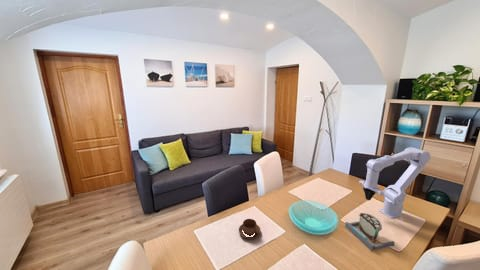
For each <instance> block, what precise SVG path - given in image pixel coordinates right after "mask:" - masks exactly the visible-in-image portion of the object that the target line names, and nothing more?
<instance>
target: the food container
mask: <svg viewBox="0 0 480 270" xmlns="http://www.w3.org/2000/svg"><path fill="white" fill-rule="evenodd" d="M358 216H359V221H360V222H359V226H358V231H360V232H361V233H362V234H363V235H364V236H365V237H366V238H367V239H368V240H369V241H370V242H371V243H373V244H374V243H375V242H376V240H377V238H378V235H379V232H381V231H382V229H383V228H382V227H383V226H382V222H381V221H380V219H379V218H377V217H376V216H374V215H371V214H369V213H366V212H365V213H364V212H360V213H359V215H358Z"/></svg>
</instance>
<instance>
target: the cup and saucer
mask: <svg viewBox="0 0 480 270" xmlns="http://www.w3.org/2000/svg"><path fill="white" fill-rule="evenodd" d="M242 230H243V231H244V233H245V234H247V235H249V236H251V235H253V234H254V233H255V235H254V236H253V237H246V236H245V235H244V234H243V232H242ZM238 233H239V235H240V236H241V237H242V238H243V239H248V240H254V239H256V238H258V237H259V236H260V235H261V227H260V226H259V225H258V224H257V221H256V220H255V219H253V218H247V219H245V220H243V222H242V223H241V225H240V226H239V227H238Z"/></svg>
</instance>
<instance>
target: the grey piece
mask: <svg viewBox="0 0 480 270" xmlns="http://www.w3.org/2000/svg"><path fill="white" fill-rule="evenodd" d="M359 222H360V220H358V221H353V222H349V221H346V222H345V224H344V225H345V226H344V228H346V229H347V230H348V231H349V232H350V233H351V234H352V235H353V236H355V238H356V239H357V240H359V241H360V243H361V244H363V245H364V246H365V247H366V248H367V249H368V250H369V251H370V252H373V251H378V250H382V249H386V248H389V247H394V246H395V241H394V240H391V241H387V242H382V243H378V244H374V242H373V243H372V242H371V241H370V240H369V239H368V238H367V237H366V236H365V235H364V234H363V233H362V232H361V231H360V230H359V229H357V228H356V227H359Z"/></svg>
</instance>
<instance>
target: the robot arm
mask: <svg viewBox="0 0 480 270" xmlns="http://www.w3.org/2000/svg"><path fill="white" fill-rule="evenodd" d="M406 159H408V160H409V162H410V164H409V166H408V168H407V169H406V170H405V171H404V172H403V173H402V175H401V176H400V177H399V179H398V180H397V181H396V182H395V183H394V184H390V185H388V186H387V187H386V188H384V189H383V190H381V189H380V188H379V187H377V186H378V181H379V176H380V172H382V170H383V169H385V168H387V167H389V166H393V165H394V164H395V162H398V161H402V160H406ZM431 159H432V157H431V154H430V151H429V152H428V151H427V150H423V149H420V148H416V147H415V146H408V147H407V148H405V149H404V150H403V151H400V152H398V153H395V154H393V155H384V156H382V157H378V158H376V159H374V158H372V159H369V160H367V162H366V163H365V165H366V170H367V172H366V175H365V176H366V177H365V178H366V179H365V181H364V180H359V181H358V184H359V185H362V186H363V187H362V190H363V192H364V195H365V196H364V197H365V200H366V201H371V200H372V198H373V197H374V196H375V195H376V194H378V196H384V201H383V205H382V206H383V207H382V209H378V211H379V212H381V213H382V214H384V215H385V216H387V218H389V219H394V218H399V217H403V215H404V214H402V213H403V208H404V204H403V203H404V201H405V199H406V197H407V193H406V190H407V188H408V187H409V186H410V185H411V184H412V183H413V181H414V180H415V179H416V178H417V176H418V175H419V174H420V173H421V172H422V170H423V169H424V168H425V166H426V165H427V164H428V162H429V161H430V160H431Z"/></svg>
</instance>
